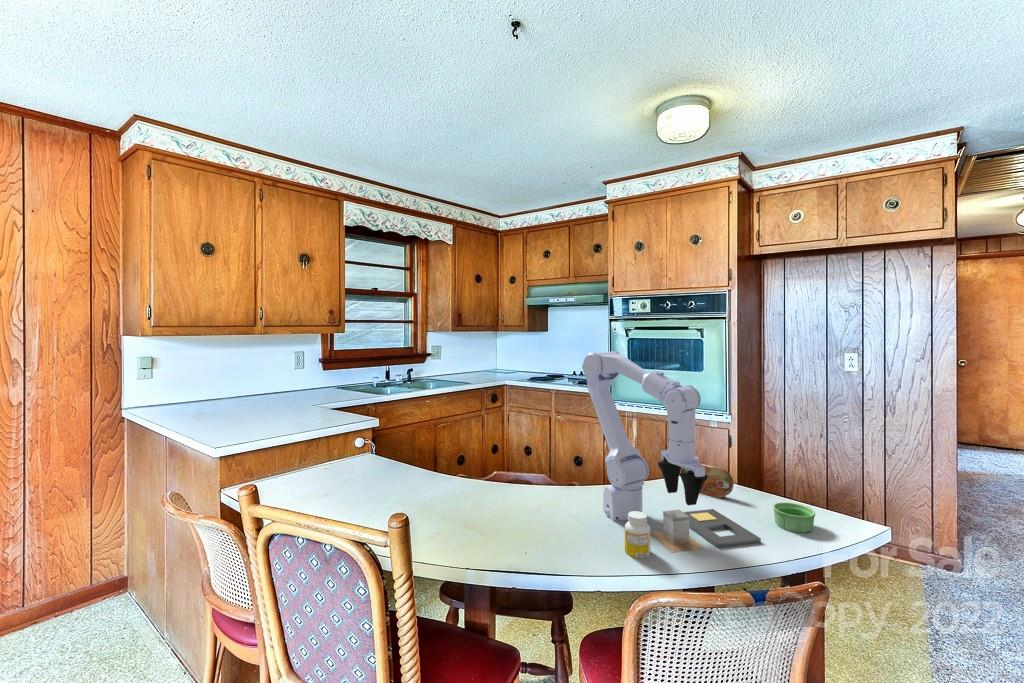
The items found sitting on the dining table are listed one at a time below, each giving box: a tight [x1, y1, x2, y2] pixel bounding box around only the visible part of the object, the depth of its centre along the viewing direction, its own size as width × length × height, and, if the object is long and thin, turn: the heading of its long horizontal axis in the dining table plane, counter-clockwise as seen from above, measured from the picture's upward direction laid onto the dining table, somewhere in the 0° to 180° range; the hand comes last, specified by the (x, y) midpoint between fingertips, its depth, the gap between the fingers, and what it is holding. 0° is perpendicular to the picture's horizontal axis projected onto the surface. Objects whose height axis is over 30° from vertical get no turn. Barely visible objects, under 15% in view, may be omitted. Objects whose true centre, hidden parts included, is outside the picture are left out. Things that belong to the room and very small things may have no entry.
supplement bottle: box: [624, 511, 651, 559], centre depth 102 cm, size 5×5×10 cm
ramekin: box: [772, 501, 816, 534], centre depth 118 cm, size 9×9×4 cm
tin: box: [680, 463, 734, 499], centre depth 140 cm, size 15×3×8 cm, turn 42°
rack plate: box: [682, 508, 762, 549], centre depth 113 cm, size 11×17×3 cm, turn 12°
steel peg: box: [662, 509, 690, 545], centre depth 107 cm, size 4×4×6 cm
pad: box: [650, 530, 706, 553], centre depth 108 cm, size 8×10×2 cm
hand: (681, 498), depth 109 cm, fingers open, 7 cm apart
